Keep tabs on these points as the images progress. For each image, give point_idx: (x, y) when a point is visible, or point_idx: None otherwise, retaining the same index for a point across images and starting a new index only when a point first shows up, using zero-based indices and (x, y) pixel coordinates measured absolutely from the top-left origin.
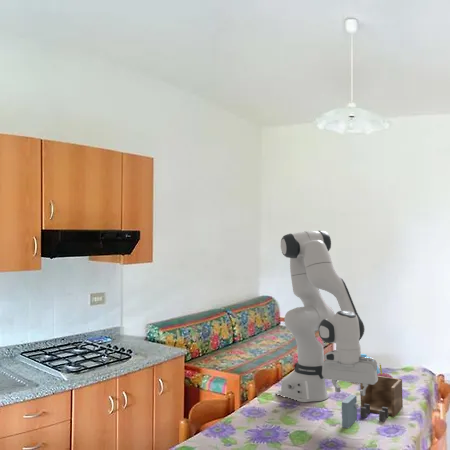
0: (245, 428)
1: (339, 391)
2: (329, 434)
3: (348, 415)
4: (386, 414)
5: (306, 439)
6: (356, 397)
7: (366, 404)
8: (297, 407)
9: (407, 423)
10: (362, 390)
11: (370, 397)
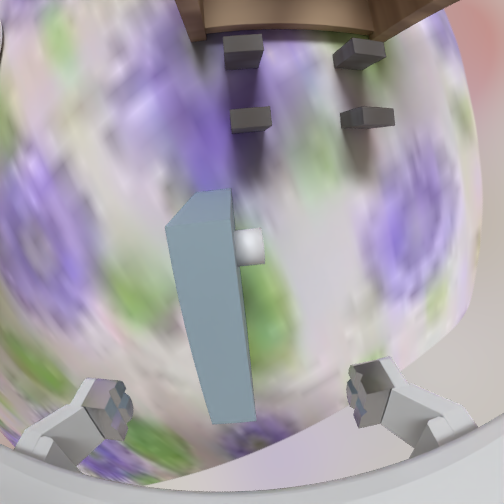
0: None
1: (129, 403)
2: None
3: (249, 356)
4: (363, 65)
5: (183, 451)
6: (230, 215)
7: (242, 46)
8: None
9: (448, 106)
10: (386, 426)
11: None
